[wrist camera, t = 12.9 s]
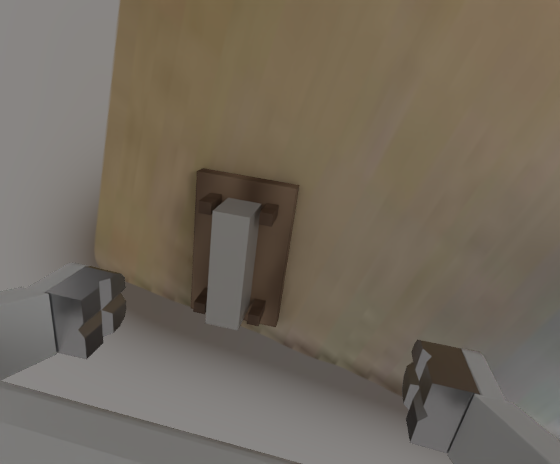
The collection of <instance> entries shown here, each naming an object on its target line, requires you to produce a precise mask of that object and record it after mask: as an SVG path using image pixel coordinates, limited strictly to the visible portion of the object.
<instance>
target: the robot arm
mask: <svg viewBox="0 0 560 464" xmlns="http://www.w3.org/2000/svg"><path fill="white" fill-rule="evenodd" d="M125 288H126V286H125V277H124V276H123V275H122V274H121V273H117V272H113V271H108V270H104V269H100V268H96V267H92V266H88V265H83V264H79V263H68V264H66V265H65V266H63V267H61V268H59V269H58V270H56V271H54V272H53V273H51V274H49V275H47V276H46V277H44V278H42V279H41V280H39V281H37V282H35V283H34V284H32V285H30V286H29V287H27V288H22V287H18V288H14V289H9V290H5V291H0V380H3V379H5V378H7V377H9V376H11V375H13V374H15V373H17V372H20V371H22V370H24V369H26V368H28V367H30V366H32V365H35V364H37V363H39V362H41V361H43V360H45V359H47V358H50V357H52V356H53V355H56V354H57V353H61V354H66V355H71V356H74V357H79V358H84V359H87V358H88V357H89V356H90V355H92V354H93V352H95V350H97V349H98V348H99V347H100V345H102V344H103V337H104V336H106V335H109V334H111V333H114V332H115V331H116V329H118V327H120V325H121V323H122V321H123V319H124V317H125V313H126V300H125V299H124V297H123V296H122V294H121V292H122V291H123V290H124V289H125ZM412 357H413V362H412V363H411V364H409V365H408V366H407V367H406V371H405V374H404V379H403V386H402V395H403V403H404V405H405V406H406V407H407V408H408V410H409V412H408V415H407V418H406V421H407V427H408V433H409V439H410V443H413V444H416V445H420V446H423V447H427V448H430V449H434V450H437V451H441V452H444V453H448V457H449V458H450V460H451V461H452V462H453V464H560V441H559V440H558V439H556V438H555V437H554V436H553V435H552V434H550V433H549V432H548V431H547V430H545V429H544V428H543V427H542V426H541V425H539V424H538V423H537V422H536V421H535V420H533V419H532V418H531V417H530V416H529V415H527V414H526V413H525V412H524V411H523V410H521V409H520V408H519V407H518V406H516V405H515V404H514V403H511V402H507V401H506V399H505V397H504V395H503V393H502V391H501V389H500V387H499V385H498V383H497V381H496V379H495V377H494V375H493V373H492V371H491V369H490V367H489V365H488V364H487V362H486V360H485V358H484V356H483V354H482V353H480V352H479V351H473V350H468V349H463V348H456V347H451V346H446V345H441V344H436V343H431V342H426V341H421V340H417V341H416V342H415V344H414V347H413V350H412ZM0 464H301V463H297V462H293V461H290V460H286V459H283V458H279V457H276V456H272V455H268V454H265V453H261V452H258V451H254V450H251V449H246V448H243V447H239V446H236V445H232V444H229V443H225V442H221V441H217V440H214V439H211V438H206V437H203V436H199V435H196V434H192V433H189V432H185V431H181V430H178V429H174V428H170V427H167V426H163V425H160V424H156V423H152V422H149V421H145V420H141V419H137V418H134V417H130V416H127V415H123V414H119V413H116V412H112V411H109V410H105V409H101V408H98V407H94V406H90V405H87V404H83V403H79V402H76V401H72V400H69V399H65V398H61V397H58V396H54V395H50V394H47V393H43V392H40V391H36V390H32V389H29V388H25V387H21V386H18V385H14V384H11V383H7V382H3V381H0Z"/></svg>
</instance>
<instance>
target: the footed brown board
mask: <svg viewBox="0 0 560 464" xmlns="http://www.w3.org/2000/svg"><path fill="white" fill-rule="evenodd" d="M298 190H299V185H295V184H289V183H283V182H278V181H272V180H266V179H260V178H255V177H249V176H243V175H238V174H232V173H226V172H221V171H215V170H209V169H201V170H199V171H197V184H196V205H195V227H194V249H193V271H192V293H191V308H192V309H194V310H193V311H194V312H197V313H202V314H205V312H206V306H207V291H208V276H209V260H210V245H211V230H212V214H213V210H214V209H215V208H217V207H218V206H219V205H220V204H221V203H222V202H224V201H225V200H226V199H227V198H233V199H238V200H244V201H249V202H255V203H260V204H261V212H260V217H259V229H258V238H257V246H256V254H255V263H254V271H253V280H252V288H251V297H250V305H249V308H248V311H247V313H246V315H245V317H244V319H243V320H246V321H247V324H251V325H255V326H259V324H264V325H268V326H273V327H276V325H277V322H278V318H279V311H280V305H281V298H282V292H283V286H284V279H285V273H286V266H287V260H288V254H289V247H290V241H291V234H292V228H293V222H294V215H295V209H296V202H297V196H298Z"/></svg>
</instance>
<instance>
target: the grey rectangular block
mask: <svg viewBox="0 0 560 464" xmlns="http://www.w3.org/2000/svg"><path fill="white" fill-rule="evenodd" d="M260 212H261V204H260V203H255V202H249V201H244V200H238V199H233V198H227V199H226V200H225V201H224V202H222V203H221V204H220V205H219V206H218V207H217V208H215V209H214V210H213V214H212V230H211V245H210V260H209V276H208V291H207V306H206V322H205V323H207V324H211V325H216V326H220V327H225V328H229V329H233V330H238V329H239V327H240V325H241V323H242V321H243V319H244V317H245V315H246V313H247V311H248V308H249V305H250V297H251V288H252V280H253V271H254V263H255V254H256V246H257V238H258V229H259V217H260Z"/></svg>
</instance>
